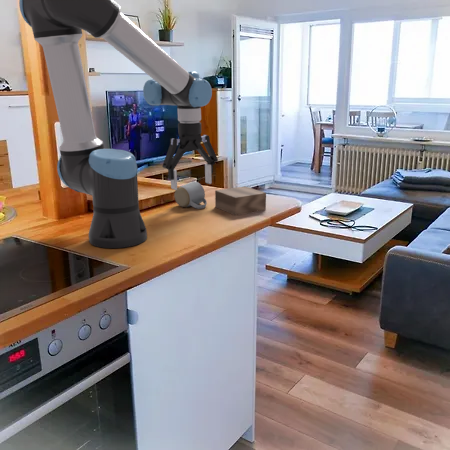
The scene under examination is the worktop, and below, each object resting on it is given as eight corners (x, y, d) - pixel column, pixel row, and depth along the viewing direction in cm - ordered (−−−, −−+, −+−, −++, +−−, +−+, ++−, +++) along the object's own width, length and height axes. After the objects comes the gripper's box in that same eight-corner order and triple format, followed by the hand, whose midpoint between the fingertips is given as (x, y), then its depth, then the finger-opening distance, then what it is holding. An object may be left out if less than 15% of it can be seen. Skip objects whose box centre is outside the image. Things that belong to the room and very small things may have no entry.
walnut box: (235, 216, 151) (235, 197, 149) (215, 207, 160) (215, 190, 159) (265, 210, 157) (266, 192, 155) (244, 203, 167) (244, 186, 165)
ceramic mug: (172, 206, 162) (172, 183, 159) (189, 201, 168) (188, 179, 165) (196, 211, 155) (196, 188, 153) (212, 206, 162) (212, 184, 159)
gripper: (214, 118, 164) (215, 179, 171) (149, 123, 150) (153, 189, 157) (227, 120, 158) (228, 182, 165) (161, 125, 144) (164, 193, 151)
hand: (191, 186), depth 161 cm, fingers open, 13 cm apart
